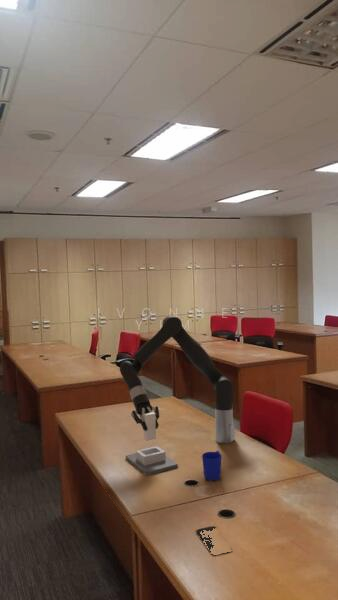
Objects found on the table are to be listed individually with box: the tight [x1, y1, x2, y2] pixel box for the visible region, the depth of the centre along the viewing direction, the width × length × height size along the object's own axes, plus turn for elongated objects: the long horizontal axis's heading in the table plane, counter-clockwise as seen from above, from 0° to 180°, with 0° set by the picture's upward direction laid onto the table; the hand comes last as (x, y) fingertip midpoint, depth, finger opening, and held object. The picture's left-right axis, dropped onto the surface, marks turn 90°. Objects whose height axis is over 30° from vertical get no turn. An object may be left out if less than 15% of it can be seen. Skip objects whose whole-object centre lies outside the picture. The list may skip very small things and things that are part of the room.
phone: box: [195, 525, 217, 553], centre depth 150 cm, size 7×1×15 cm
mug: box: [201, 450, 222, 482], centre depth 198 cm, size 8×12×10 cm
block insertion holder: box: [125, 445, 179, 476], centre depth 214 cm, size 22×16×6 cm
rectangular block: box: [143, 411, 157, 442], centre depth 213 cm, size 2×5×12 cm, turn 120°
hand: (151, 428), depth 212 cm, fingers closed on rectangular block, 5 cm apart
